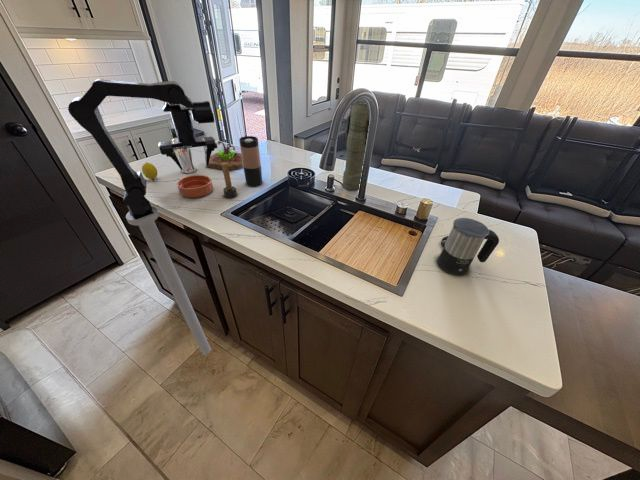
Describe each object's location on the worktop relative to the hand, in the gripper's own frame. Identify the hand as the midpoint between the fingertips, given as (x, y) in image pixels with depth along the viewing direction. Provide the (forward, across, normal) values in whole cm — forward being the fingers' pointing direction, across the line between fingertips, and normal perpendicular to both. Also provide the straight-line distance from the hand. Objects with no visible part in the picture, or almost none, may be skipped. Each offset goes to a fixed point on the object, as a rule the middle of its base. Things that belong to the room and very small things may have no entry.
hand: (194, 167), depth 97 cm
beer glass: (+13, +1, -30) cm, 33 cm away
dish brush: (+13, -11, +3) cm, 17 cm away
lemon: (+13, +17, -26) cm, 34 cm away
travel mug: (+13, -23, -4) cm, 27 cm away
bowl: (+13, +1, -6) cm, 15 cm away
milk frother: (+13, -63, +73) cm, 98 cm away
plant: (+13, -18, -33) cm, 39 cm away
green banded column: (+13, -63, +18) cm, 67 cm away
